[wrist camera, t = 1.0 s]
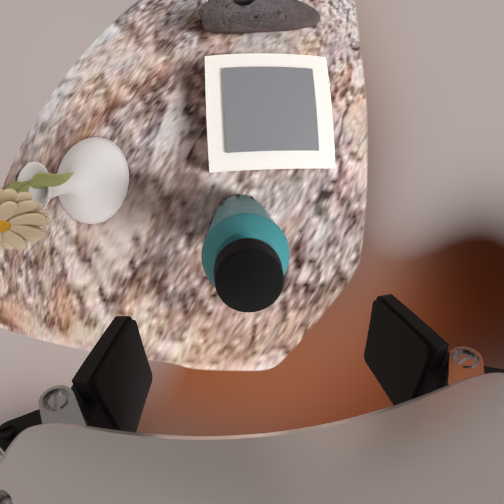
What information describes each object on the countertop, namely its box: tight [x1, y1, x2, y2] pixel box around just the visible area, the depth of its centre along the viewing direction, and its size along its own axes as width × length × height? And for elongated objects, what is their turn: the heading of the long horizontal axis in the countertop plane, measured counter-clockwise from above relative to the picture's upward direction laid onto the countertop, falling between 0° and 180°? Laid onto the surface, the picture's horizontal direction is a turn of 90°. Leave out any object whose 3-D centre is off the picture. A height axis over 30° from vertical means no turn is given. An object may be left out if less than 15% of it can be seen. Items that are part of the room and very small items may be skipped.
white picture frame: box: [205, 53, 335, 173], centre depth 28 cm, size 14×14×4 cm
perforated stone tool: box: [199, 0, 321, 33], centre depth 23 cm, size 15×5×7 cm, turn 91°
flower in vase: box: [0, 137, 129, 250], centre depth 19 cm, size 13×11×25 cm
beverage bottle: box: [202, 194, 289, 312], centre depth 24 cm, size 6×7×20 cm
